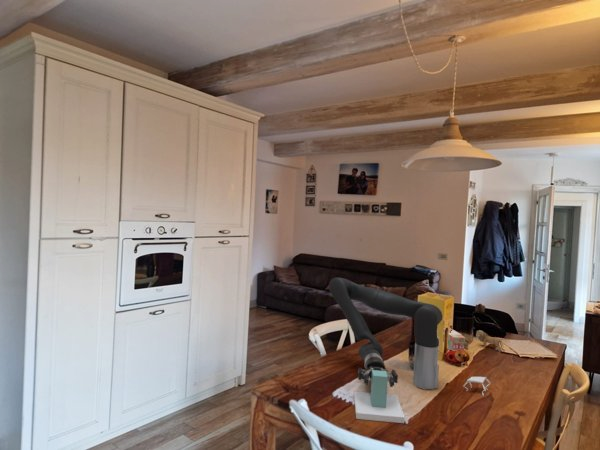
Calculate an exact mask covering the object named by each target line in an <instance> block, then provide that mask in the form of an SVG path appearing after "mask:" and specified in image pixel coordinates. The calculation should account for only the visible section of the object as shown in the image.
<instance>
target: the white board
mask: <svg viewBox="0 0 600 450" xmlns="http://www.w3.org/2000/svg"><path fill="white" fill-rule="evenodd" d="M370 398H371V392H364V391H353V400H354V401H353V402H354V411H355V419H357V420H363V421H375V422H376V421H377V422H388V423H399V424H405V420H406V419H405V415H404V412H403V409H402V405H401V404H400V401H399V398H398V395H397V394H388V393H387V401H386V408H382V407H372V405H371V400H370Z"/></svg>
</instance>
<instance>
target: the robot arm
mask: <svg viewBox="0 0 600 450" xmlns="http://www.w3.org/2000/svg"><path fill="white" fill-rule="evenodd" d="M328 283H329V284H328V289H329V292H330V295H332V297H333V299H334V300H335V301H336V303H337V305H338V306H339V308H340V310H341V311H342V313H343V315H344V316H345V318H346V320H347V323H348V325H349V327H350V328H351V331H352V333H353V335H354V337H355V340H357V341H363V340H369V341H370V342H367V343H364V344H363V345H360V347H359V348H358V355H359V358H360V359H361V360H362V362H364V368H365V369H363V368H362V367H361V366H359V367H358V371H357V379H358V381H361V380H363V383H364V384H365V385H366V386H369V381H371V379H372V370H378V371H386V373H387V376H388V385H389V387H390V388H393V387H394V386H395V384H397V383H399V382H398V380H399V377H398V374H397V371H396V370H394V369H391V370H390V371H388V370H387V369H386V366H385V362H384V359H383V358H382V356H383V354H384V348H383V347H382V345H381V343H380V342H379V341H378V340H377V339H376V338H375V336H374V335H373V334H372V332H371V330H370V329H369V327H368V325H367V323H366V321H365V319H364V317H363V315H362V314H361V313H360V311H359V310H358V309H357V308H356V305H354V303H353V301H352V300H354V301H357V302H360V303H362V304H364V305H366V306H367V307H369V308H371V309H373V310H375V311H377V312H378V311H379V312H381V313H384V314H388V315H389V314H390V315H395V316H396V315H397V316H405V317H409V318H413V319H414V321H413V323H414V325H413V326H414V327H413V328H414V329H413V333H414V334H413V335H414V341H415V342H414V355H413V356H414V357H413V358H414V359H413V371H412V373H413V375H412V385H413V386H415V385H416V386H417V387H416V386H415V387H416V388H418V387H420V388H419V389H421V388H424V389H423V390H426V389H432V390H435V389H434V388H438V389H439V371H440V370H439V369H440V366H439V364H438V361H439V360H438V359H439V350H438V346H439V339H438V338H437V330H438V325H439V324H440V323H441V322H442V321H443V312H442V311H441V309H440V308H439V307H438V306H436V305H435V304H432V303H431V304H430V303H425V302H421V301H417V300H412V299H409V298H406V297H404V296H400V295H398V294H396V293H392V292H390V291H386V290H383V289H379V288H374V287H370V286H363V285H361V284H357V283H356V282H353V281H351V280H349V279H347V278H342V277H333V278H331V280H330V281H329V282H328Z"/></svg>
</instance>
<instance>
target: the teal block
mask: <svg viewBox="0 0 600 450" xmlns="http://www.w3.org/2000/svg"><path fill="white" fill-rule="evenodd" d="M370 381H371V383H370V393H371V398H370V400H371V405H372V407H382V408H386V401H387V394H388V384H389V382H388V376H387V373H386V371H378V370H372V379H371V380H370Z"/></svg>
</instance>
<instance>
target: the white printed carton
mask: <svg viewBox="0 0 600 450" xmlns="http://www.w3.org/2000/svg"><path fill="white" fill-rule="evenodd" d="M451 330H452V331H451V333H449V336H448V349H449V350H452V351H457V350H463V351H464V352H465V348H466V347H465V346H466V337H465V336H464V335H462V333H460V332H458V331H456V330H454V329H451Z"/></svg>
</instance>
